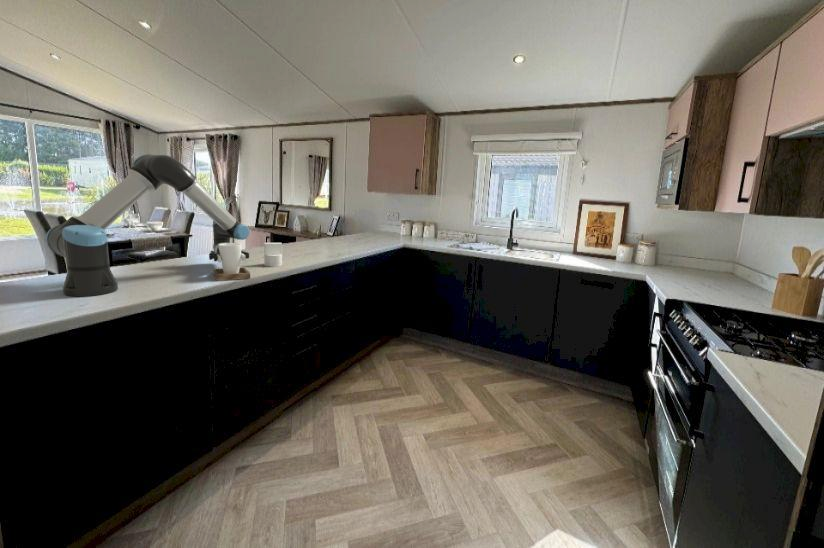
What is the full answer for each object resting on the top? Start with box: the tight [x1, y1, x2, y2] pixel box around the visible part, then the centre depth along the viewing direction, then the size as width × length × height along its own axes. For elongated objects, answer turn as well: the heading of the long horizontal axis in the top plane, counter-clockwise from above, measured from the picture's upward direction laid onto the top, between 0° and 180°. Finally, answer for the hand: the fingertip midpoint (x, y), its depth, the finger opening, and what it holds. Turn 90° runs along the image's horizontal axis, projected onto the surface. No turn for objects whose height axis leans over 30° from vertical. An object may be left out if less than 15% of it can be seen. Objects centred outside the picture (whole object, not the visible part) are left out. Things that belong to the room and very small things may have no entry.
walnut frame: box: [212, 266, 251, 282], centre depth 170 cm, size 14×14×3 cm
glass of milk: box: [263, 242, 283, 268], centre depth 200 cm, size 9×9×12 cm
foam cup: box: [218, 242, 243, 274], centre depth 168 cm, size 10×9×13 cm
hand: (232, 259), depth 165 cm, fingers closed on foam cup, 9 cm apart
